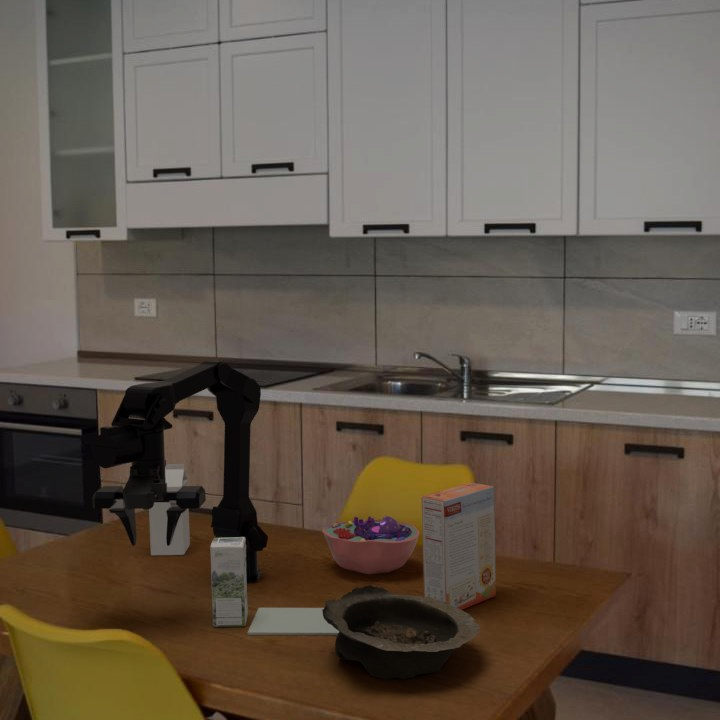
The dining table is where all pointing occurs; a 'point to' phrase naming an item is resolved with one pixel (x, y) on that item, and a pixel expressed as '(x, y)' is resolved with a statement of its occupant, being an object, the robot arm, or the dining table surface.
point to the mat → (290, 622)
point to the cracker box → (459, 545)
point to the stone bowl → (397, 631)
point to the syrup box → (229, 581)
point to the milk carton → (159, 517)
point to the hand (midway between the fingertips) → (151, 545)
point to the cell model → (371, 544)
